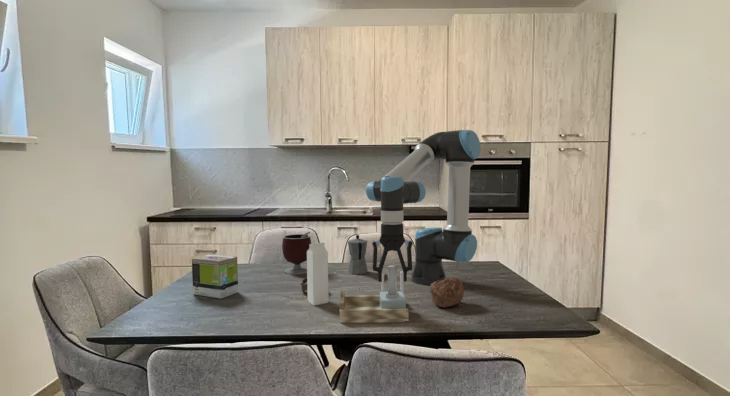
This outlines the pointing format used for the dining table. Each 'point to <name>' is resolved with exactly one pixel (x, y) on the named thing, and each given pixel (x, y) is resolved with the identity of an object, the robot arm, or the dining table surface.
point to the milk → (317, 274)
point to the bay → (368, 310)
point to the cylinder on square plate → (392, 292)
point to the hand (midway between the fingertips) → (392, 290)
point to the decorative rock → (447, 292)
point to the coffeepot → (357, 256)
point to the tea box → (215, 275)
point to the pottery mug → (304, 285)
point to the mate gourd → (296, 251)
